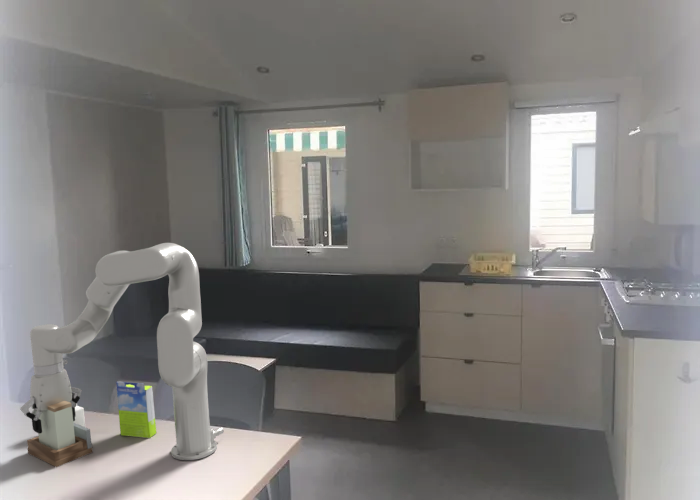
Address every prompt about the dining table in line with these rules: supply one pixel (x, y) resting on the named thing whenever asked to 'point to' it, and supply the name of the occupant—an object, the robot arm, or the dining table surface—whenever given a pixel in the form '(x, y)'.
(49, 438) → the tall rectangular pillar
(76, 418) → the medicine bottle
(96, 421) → the dining table surface
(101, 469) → the dining table surface
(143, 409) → the box
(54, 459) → the slot rack
